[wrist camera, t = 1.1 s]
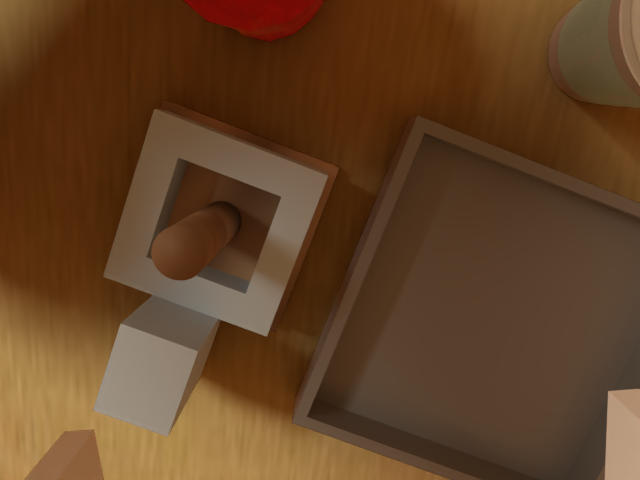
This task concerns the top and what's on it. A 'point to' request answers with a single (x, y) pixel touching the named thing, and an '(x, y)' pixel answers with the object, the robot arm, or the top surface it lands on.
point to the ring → (207, 286)
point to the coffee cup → (598, 52)
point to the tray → (481, 317)
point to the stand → (227, 216)
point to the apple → (258, 15)
